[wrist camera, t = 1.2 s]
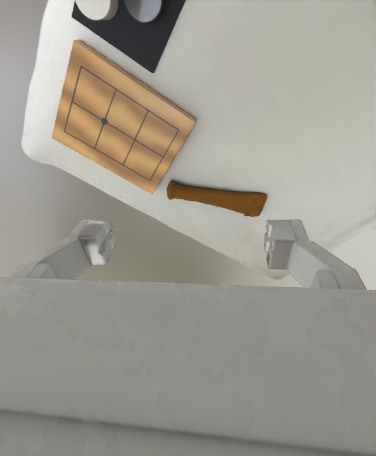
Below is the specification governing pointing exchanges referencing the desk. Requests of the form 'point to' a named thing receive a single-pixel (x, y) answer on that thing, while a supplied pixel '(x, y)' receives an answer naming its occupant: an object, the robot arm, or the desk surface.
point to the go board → (118, 119)
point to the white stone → (98, 9)
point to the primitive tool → (220, 198)
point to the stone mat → (135, 32)
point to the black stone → (146, 10)
